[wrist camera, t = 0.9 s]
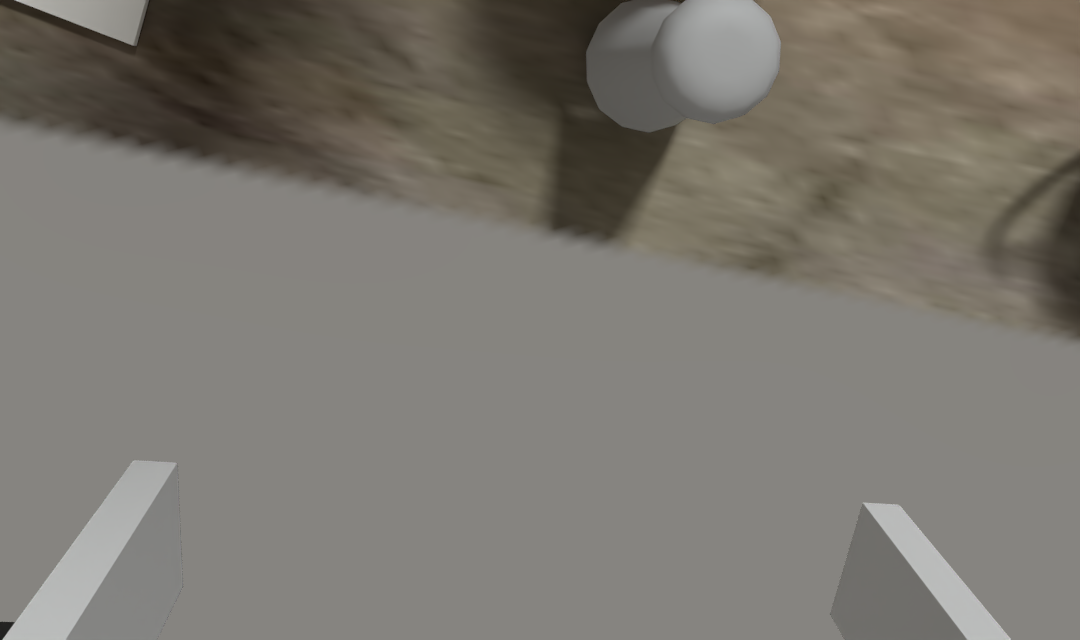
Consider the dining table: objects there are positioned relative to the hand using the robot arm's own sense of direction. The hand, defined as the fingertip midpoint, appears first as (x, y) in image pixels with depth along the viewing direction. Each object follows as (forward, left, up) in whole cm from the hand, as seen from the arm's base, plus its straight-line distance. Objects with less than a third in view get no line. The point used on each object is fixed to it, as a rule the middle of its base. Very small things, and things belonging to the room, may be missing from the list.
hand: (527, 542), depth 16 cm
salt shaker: (-8, +9, -27) cm, 29 cm away
